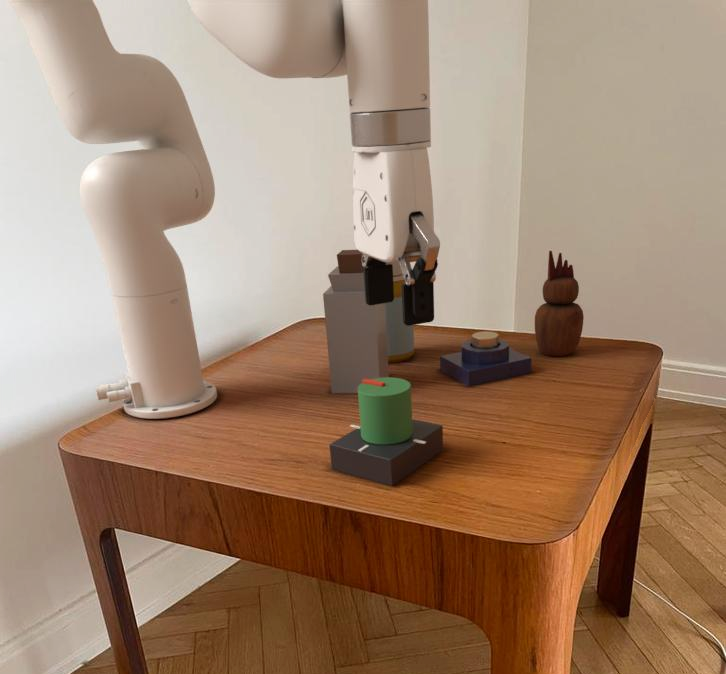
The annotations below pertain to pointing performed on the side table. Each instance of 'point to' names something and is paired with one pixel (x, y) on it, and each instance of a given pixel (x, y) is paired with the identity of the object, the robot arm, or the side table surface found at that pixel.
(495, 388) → the side table surface
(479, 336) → the button
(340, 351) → the perfume bottle
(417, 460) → the knob base
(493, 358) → the button block
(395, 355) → the bottle
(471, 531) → the side table surface
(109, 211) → the robot arm
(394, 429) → the green rotary knob
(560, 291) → the wooden figurine
